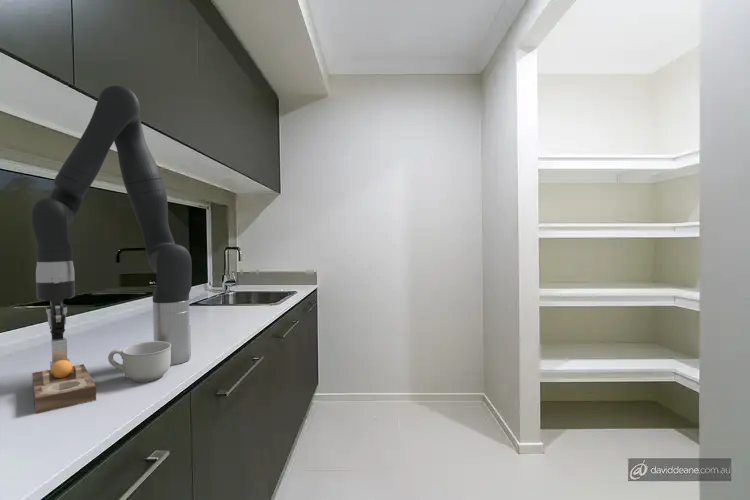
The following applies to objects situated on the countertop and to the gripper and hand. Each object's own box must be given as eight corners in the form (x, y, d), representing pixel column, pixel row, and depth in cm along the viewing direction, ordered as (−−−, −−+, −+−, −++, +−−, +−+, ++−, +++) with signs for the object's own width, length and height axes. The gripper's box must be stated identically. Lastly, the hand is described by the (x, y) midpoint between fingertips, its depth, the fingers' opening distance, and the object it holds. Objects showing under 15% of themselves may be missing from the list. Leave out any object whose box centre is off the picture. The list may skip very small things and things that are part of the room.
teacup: (179, 370, 108) (178, 340, 108) (158, 385, 97) (158, 352, 97) (125, 371, 107) (124, 341, 107) (98, 386, 97) (98, 352, 96)
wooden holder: (32, 385, 97) (32, 364, 97) (83, 375, 104) (83, 356, 104) (36, 413, 82) (35, 388, 81) (96, 400, 88) (95, 377, 88)
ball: (60, 374, 96) (60, 357, 96) (77, 374, 96) (76, 357, 96) (46, 380, 92) (45, 362, 92) (63, 380, 92) (62, 363, 92)
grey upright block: (50, 371, 98) (49, 340, 97) (68, 368, 100) (67, 337, 100) (51, 375, 95) (50, 343, 94) (70, 372, 97) (69, 340, 97)
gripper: (35, 278, 104) (37, 346, 104) (36, 282, 94) (39, 357, 94) (72, 276, 109) (73, 341, 109) (77, 280, 99) (79, 351, 99)
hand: (57, 348), depth 102 cm, fingers closed
